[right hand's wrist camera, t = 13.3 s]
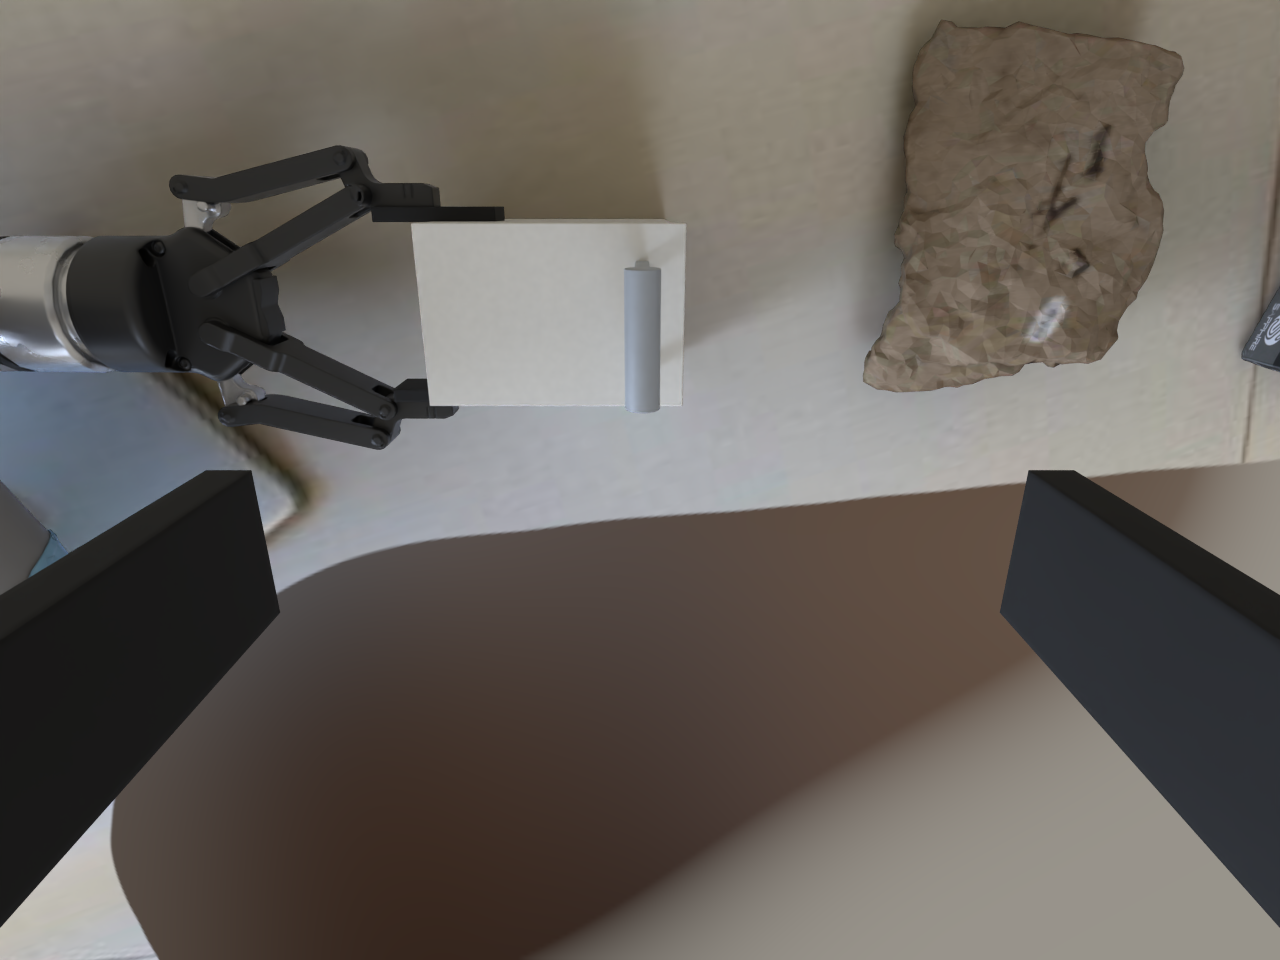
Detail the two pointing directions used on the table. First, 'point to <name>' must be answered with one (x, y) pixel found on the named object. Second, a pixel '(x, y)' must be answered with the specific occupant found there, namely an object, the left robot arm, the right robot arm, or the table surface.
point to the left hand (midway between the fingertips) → (505, 305)
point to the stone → (1022, 202)
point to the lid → (552, 313)
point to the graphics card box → (1266, 338)
